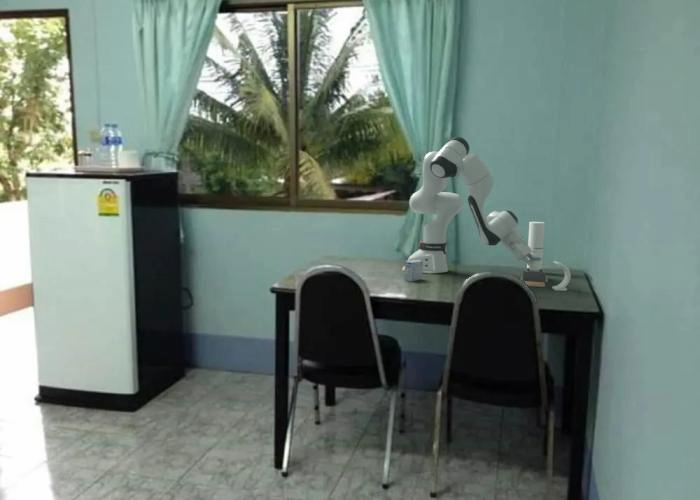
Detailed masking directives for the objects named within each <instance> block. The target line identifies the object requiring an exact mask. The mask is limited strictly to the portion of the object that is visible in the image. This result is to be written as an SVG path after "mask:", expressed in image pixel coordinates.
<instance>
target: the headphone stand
mask: <svg viewBox="0 0 700 500" xmlns="http://www.w3.org/2000/svg"><path fill="white" fill-rule="evenodd" d="M553 264H556V265H558V266H560V267H562V269H563V271H564V277H563V278H562V281H561V282H560V283H559V284H557V285H553V286H551V289H553V290H554V291H568V288H567V286H568V284H569V282H570V281H571V271H570V268H569V267H568V266H567V265H565V264H564V263H562V262H560V261H558V260H557V261H556V260H553Z"/></svg>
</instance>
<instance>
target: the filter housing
mask: <svg viewBox="0 0 700 500" xmlns="http://www.w3.org/2000/svg"><path fill="white" fill-rule="evenodd" d="M520 280H522V281H521V282H524V281H532V282H545V284H548V283H549V280H548V276H547V269H546V268H542V269H540V272H537V271H529V268H527V267H523V272H522V275H521V276H520Z"/></svg>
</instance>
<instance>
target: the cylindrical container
mask: <svg viewBox="0 0 700 500" xmlns="http://www.w3.org/2000/svg"><path fill="white" fill-rule="evenodd" d="M528 225H529V226H528V242H527V245H528V246H529V247H530V249H531V250H532V251H531V252H530V253H531V254H532V256H533V257H541V267H540V269H543V257H544V239H545V225H546V222H544V221H529V224H528ZM526 257H527V256H526ZM527 258H528V257H527ZM528 259H529V258H528ZM529 260H530V259H529ZM526 268H529V265H528V264H527V263H526Z"/></svg>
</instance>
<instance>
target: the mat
mask: <svg viewBox="0 0 700 500" xmlns="http://www.w3.org/2000/svg"><path fill="white" fill-rule="evenodd" d="M524 282H525V283H526V284H527V285H528V286H527V287H536V288H537V287H538V288H545V287H546V285H545V284H546V283H545V282H532V281H523V283H524Z"/></svg>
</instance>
